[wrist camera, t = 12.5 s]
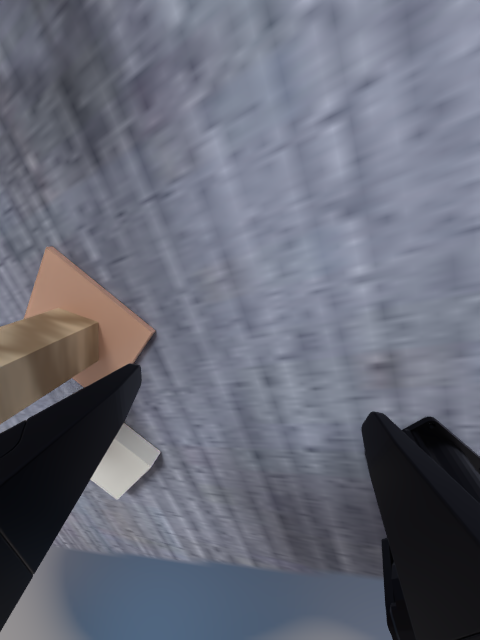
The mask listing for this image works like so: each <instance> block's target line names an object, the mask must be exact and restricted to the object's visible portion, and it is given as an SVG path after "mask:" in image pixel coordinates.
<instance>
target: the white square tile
mask: <svg viewBox="0 0 480 640" xmlns="http://www.w3.org/2000/svg"><path fill="white" fill-rule="evenodd" d="M160 453H161V452H160V451H159V450H158V449H157V448H155V447H154V446H153V445H152V444H150V443H149V442H148V441H146V440H145V439H144V438H143V437H141V436H140V435H139V434H138V433H136V432H135V431H134V430H133V429H131V428H130V427H129V426H127V425H126V424H125V423H123V425H122V426H121V428H120V430H119V432H118V433H117V435H116V437H115V438H114V440H113V442H112V444H111V445H110V447H109V449H108V450H107V452H106V454H105V455H104V457H103V459H102V460H101V462H100V464H99V465H98V467H97V469H96V471H95V472H94V474H93V476H92V477H91V480H92V481H93V482H94V483H96V484H97V485H98V486H100V487H101V488H102V489H104V490H105V491H106V492H107V493H109V494H110V495H111V496H113V497H114V498H115V499H117V500H118V499H119V498H120V497H121V496H122V495H123V494H124V493H125V492H126V491H127V490H128V489H129V488H130V487H131V486H132V485H133V484H134V483H135V482H136V481H137V480H138V479H139V478H140V477H142V476H143V475H144V474H145V473H146V472H147V471H148V470H149V469H150V468H151V467H152V465H153V464H154V462H155V460H156V459H157V457H158V456H159V454H160Z"/></svg>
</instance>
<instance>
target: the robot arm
mask: <svg viewBox="0 0 480 640" xmlns="http://www.w3.org/2000/svg"><path fill="white" fill-rule="evenodd" d="M140 386H141V367H140V365H137V364H132V363H129V364H127V365H125V366H123V367H121V368H119V369H118V370H116V371H114V372H112V373H110V374H108V375H107V376H105V377H103V378H101V379H99V380H97V381H96V382H94V383H92V384H90V385H88V386H87V387H85V388H83V389H81V390H79V391H77V392H76V393H74V394H72V395H70V396H68V397H66V398H65V399H63V400H61V401H59V402H57V403H55V404H54V405H52V406H50V407H48V408H46V409H45V410H43V411H41V412H39V413H37V414H35V415H34V416H32V417H30V418H28V419H27V421H26V420H25V421H22V422H21V423H19V424H17V425H15V426H13V427H11V428H10V429H8V430H6V431H4V432H2V433H0V631H1V630H2V628H3V626H4V624H5V623H6V621H7V619H8V618H9V616H10V614H11V613H12V611H13V609H14V608H15V606H16V604H17V603H18V601H19V599H20V597H21V596H22V594H23V592H24V590H25V589H26V587H27V586H28V584H29V582H30V581H31V579H32V577H33V574H34V573H35V572H36V570H37V568H38V567H39V565H40V563H41V562H42V560H43V558H44V557H45V555H46V553H47V552H48V550H49V548H50V547H51V545H52V543H53V541H54V540H55V538H56V536H57V535H58V533H59V531H60V530H61V528H62V526H63V525H64V523H65V521H66V520H67V518H68V516H69V514H70V513H71V511H72V509H73V508H74V506H75V504H76V503H77V501H78V499H79V498H80V496H81V494H82V493H83V491H84V489H85V487H86V486H87V484H88V482H89V481H90V479H91V477H92V476H93V474H94V472H95V471H96V469H97V467H98V465H99V464H100V462H101V460H102V459H103V457H104V455H105V454H106V452H107V450H108V449H109V447H110V445H111V444H112V442H113V440H114V438H115V437H116V435H117V433H118V432H119V430H120V428H121V426H122V425H123V423H124V421H125V419H126V417H127V414H128V412H129V410H130V408H131V406H132V403H133V401H134V399H135V397H136V395H137V392H138V390H139V388H140ZM430 423H432V424H430ZM362 436H363V441H364V447H365V455H366V458H367V464H368V469H369V473H370V477H371V481H372V485H373V488H374V492H375V495H376V499H377V502H378V506H379V510H380V513H381V517H382V520H383V524H384V527H385V531H386V535H387V538H385V539H382V557H383V573H384V589H385V606H386V615H387V625H388V628H389V631H390V633H391V635H392V638H393V640H480V456H478V455H477V454H476V453H475V452H474V451H473V450H471V449H470V448H469V447H468V446H467V445H465V444H464V443H463V442H462V441H461V440H460V439H458V438H457V437H456V436H455V435H454V434H453V433H451V432H450V431H449V430H448V429H447V428H446V427H444V426H443V425H442V424H441V423H440V422H439V421H437V420H436V419H435V418H433V417H426V418H423V419H422V420H420V421H418V422H416V423H414V424H413V425H411V426H409V427H407V428H405V429H404V430H401V429H400V428H399V427H397V426H396V425H395V424H394V423H393V422H392V421H391V420H390V419H389V418H388V417H387V416H386V415H385V414H383V413H379V412H371V413H370V414H369V415H368V417H367V418H366V420H365V421H364V423H363V425H362Z"/></svg>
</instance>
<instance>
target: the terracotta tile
mask: <svg viewBox="0 0 480 640" xmlns="http://www.w3.org/2000/svg"><path fill="white" fill-rule="evenodd" d="M57 308H60V309H63V310H66V311H69V312H71V313H74V314H77V315H80V316H83V317H85V318H88V319H91V320H94V321H97V322H98V352H99V361H97V362H96V363H94V364H92V365H91V366H89V367H88V368H86V369H85V370H83V371H82V372H80V373H79V374H77V375H75V376H74V377H72V378H73V379H74V380H75V381H77V382H78V383H79V384H81V385H82V386H83V387H84V388H85V387H87V386H88V385H90V384H92V383H94V382H96V381H97V380H99V379H101V378H103V377H105V376H107V375H108V374H110V373H112V372H114V371H116V370H118V369H119V368H121V367H123V366H125V365H127V364H129V363H132V364H134V362H135V361H136V359H137V358H138V356H139V355H140V353H141V352H142V350H143V349H144V347H145V346H146V344H147V343H148V341H149V340H150V339H151V337H152V336H153V334H154V333H155V330H154V329H153V328H152V327H151V326H149V325H148V324H147V323H146V322H144V321H143V320H142V319H141V318H140V317H138V316H137V315H136V314H135V313H133V312H132V311H131V310H130V309H128V308H127V307H126V306H125V305H124V304H122V303H121V302H120V301H119V300H117V299H116V298H115V297H114V296H113V295H111V294H110V293H109V292H108V291H106V290H105V289H104V288H103V287H102V286H100V285H99V284H98V283H97V282H95V281H94V280H93V279H92V278H91V277H89V276H88V275H87V274H86V273H84V272H83V271H82V270H81V269H79V268H78V267H77V266H76V265H75V264H73V263H72V262H71V261H70V260H68V259H67V258H66V257H65V256H64V255H62V254H61V253H60V252H59V251H57V250H56V249H55V248H54V247H46V249H45V253H44V256H43V259H42V262H41V265H40V269H39V272H38V275H37V278H36V281H35V285H34V288H33V291H32V294H31V297H30V301H29V304H28V307H27V310H26V314H25V317H24V319H26V318H29V317H32V316H35V315H38V314H41V313H44V312H48V311H51V310H54V309H57Z"/></svg>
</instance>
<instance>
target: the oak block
mask: <svg viewBox="0 0 480 640" xmlns="http://www.w3.org/2000/svg"><path fill="white" fill-rule="evenodd" d="M97 361H99V352H98V322H97V321H94V320H91V319H88V318H85V317H83V316H80V315H77V314H74V313H71V312H69V311H66V310H63V309H60V308H57V309H54V310H51V311H48V312H44V313H41V314H38V315H35V316H32V317H29V318H26V319H23V320H20V321H17V322H14V323H11V324H8V325H5V326H2V327H0V424H1V423H3V422H5V421H6V420H8V419H9V418H11V417H12V416H14V415H15V414H17V413H18V412H20V411H22V410H23V409H25V408H26V407H28V406H29V405H31V404H32V403H34V402H35V401H37V400H38V399H40V398H42V397H43V396H45V395H46V394H48V393H49V392H51V391H52V390H54V389H55V388H57V387H59V386H60V385H62V384H63V383H65V382H66V381H68V380H69V379H71V378H72V377H74V376H75V375H77V374H79V373H80V372H82V371H83V370H85V369H86V368H88V367H89V366H91V365H92V364H94V363H96V362H97Z"/></svg>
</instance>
